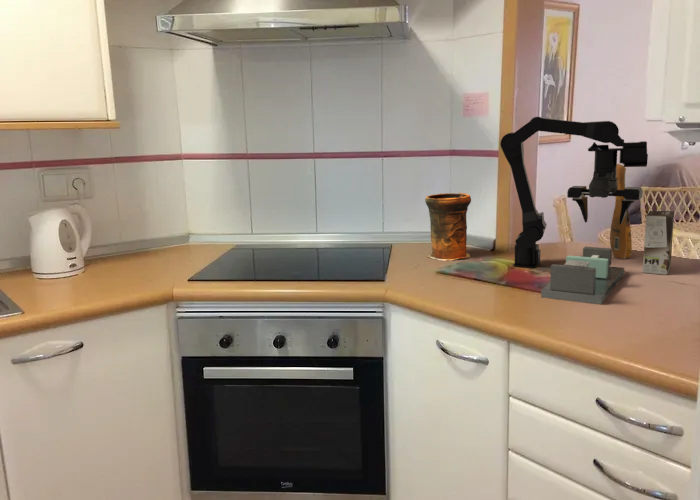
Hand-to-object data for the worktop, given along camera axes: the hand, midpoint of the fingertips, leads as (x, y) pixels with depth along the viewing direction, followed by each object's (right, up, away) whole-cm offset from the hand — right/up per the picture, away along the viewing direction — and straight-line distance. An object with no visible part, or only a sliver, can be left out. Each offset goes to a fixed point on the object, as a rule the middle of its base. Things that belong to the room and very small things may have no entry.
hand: (603, 223), depth 171 cm
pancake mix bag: (+13, -9, +19) cm, 24 cm away
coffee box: (+14, -13, -2) cm, 20 cm away
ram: (-6, -13, -7) cm, 16 cm away
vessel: (-39, -10, +26) cm, 48 cm away
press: (-10, -17, -13) cm, 24 cm away
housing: (-15, -17, -21) cm, 31 cm away
